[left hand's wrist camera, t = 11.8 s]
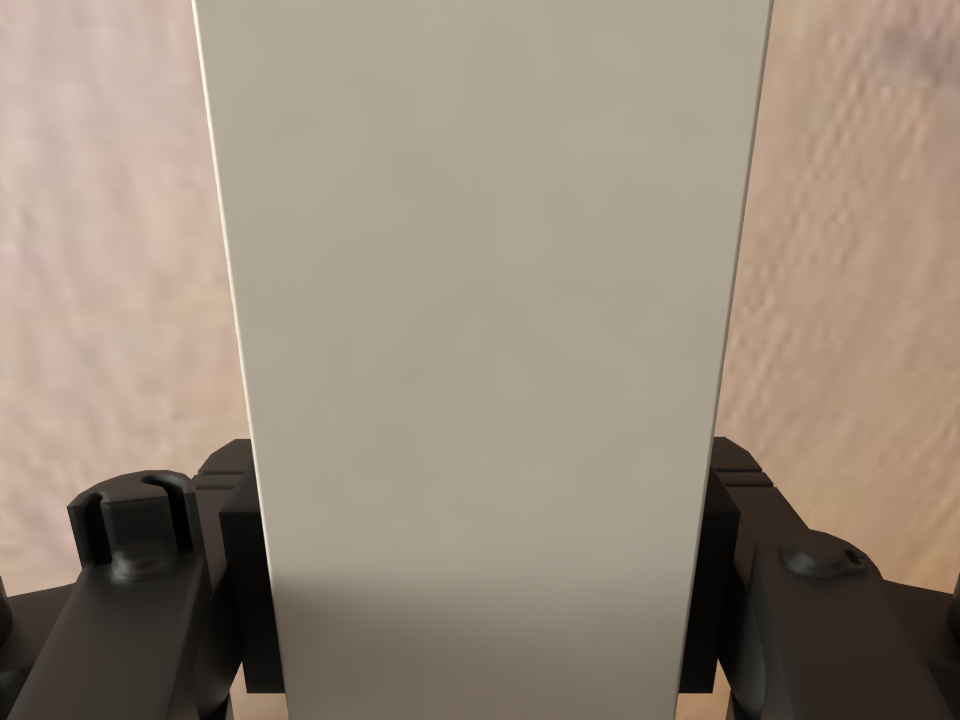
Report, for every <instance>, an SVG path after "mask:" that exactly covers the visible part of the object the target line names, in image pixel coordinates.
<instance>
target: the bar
mask: <svg viewBox="0 0 960 720" xmlns="http://www.w3.org/2000/svg"><path fill="white" fill-rule="evenodd" d="M773 3H774V0H192V7H193V14H194V22H195V29H196V36H197V44H198V51H199V59H200V66H201V73H202V81H203V88H204V96H205V103H206V110H207V118H208V125H209V132H210V140H211V147H212V155H213V162H214V169H215V177H216V184H217V192H218V199H219V206H220V214H221V221H222V229H223V236H224V243H225V251H226V258H227V265H228V273H229V280H230V288H231V295H232V302H233V310H234V317H235V325H236V332H237V339H238V347H239V354H240V361H241V369H242V376H243V384H244V391H245V398H246V406H247V413H248V421H249V428H250V435H251V443H252V450H253V458H254V465H255V472H256V480H257V487H258V494H259V502H260V509H261V517H262V524H263V531H264V539H265V546H266V554H267V561H268V568H269V576H270V583H271V590H272V598H273V605H274V613H275V620H276V627H277V635H278V642H279V650H280V657H281V664H282V672H283V679H284V687H285V694H286V701H287V709H288V716H289V720H675V714H676V707H677V700H678V692H679V685H680V678H681V671H682V663H683V656H684V649H685V642H686V634H687V627H688V620H689V613H690V605H691V598H692V591H693V584H694V576H695V569H696V562H697V555H698V547H699V540H700V533H701V526H702V518H703V511H704V504H705V497H706V489H707V482H708V475H709V468H710V460H711V453H712V446H713V439H714V431H715V424H716V417H717V409H718V402H719V395H720V388H721V380H722V373H723V366H724V359H725V351H726V344H727V337H728V330H729V322H730V315H731V308H732V301H733V293H734V286H735V279H736V272H737V264H738V257H739V250H740V243H741V235H742V228H743V221H744V214H745V206H746V199H747V192H748V185H749V177H750V170H751V163H752V155H753V148H754V141H755V134H756V126H757V119H758V112H759V105H760V97H761V90H762V83H763V76H764V68H765V61H766V54H767V47H768V39H769V32H770V25H771V18H772V10H773Z"/></svg>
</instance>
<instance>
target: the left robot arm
mask: <svg viewBox="0 0 960 720" xmlns="http://www.w3.org/2000/svg"><path fill="white" fill-rule="evenodd" d="M67 510H68V514H69V518H70V522H71V526H72V530H73V534H74V538H75V542H76V546H77V550H78V554H79V558H80V562H81V566H82V571H81V573H80V575H79V577H78V579H77V581H76V583H73V584H69V585H65V586H61V587H56V588H51V589H46V590H41V591H36V592H31V593H26V594H21V595H16V596H11V597H7V595H6V592H5V589H4V585H3V582H2V579H1V576H0V720H234V717H233V710H232V703H231V697H230V691H229V690H230V687H231V685H232V683H233V680H234V678H235V676H236V673H237V671H238V669H239V666H240V664H241V662H242V664H243V670H244V676H245V683H246V689H247V693H285V687H284V679H283V672H282V664H281V657H280V650H279V642H278V635H277V627H276V620H275V613H274V605H273V598H272V590H271V583H270V576H269V568H268V561H267V554H266V546H265V539H264V531H263V524H262V517H261V509H260V502H259V494H258V487H257V480H256V472H255V465H254V458H253V450H252V443H251V439H235V440H233V441H232V442H230V443H228V444H227V445H225V446H223V447H222V448H220V449H219V450H217V451H215V452H214V453H212V454H211V455H210V456H209V458H208V459H207V460H206V462H205V463H204V464H203V465H202V467H201V468H200V469H199V471H198V475H195V476H194V477H193V478H192V480H191V479H190V478H189V477H187V476H186V475H185V474H182V473H178V472H173V471H169V470H145V471H140V472H135V473H129V474H124V475H120V476H117V477H114V478H112V479H109V480H106V481H103V482H100V483H98V484H96V485H94V486H93V487H91V488H89V489H87V490H86V491H84V492H82V493H80V494H79V495H78V496H77V497H76V498H75V499H74V500H73V501H72V502H71V503H70V504H69V505H68V506H67ZM718 659H719V662H720V664H721V666H722V669H723V671H724V673H725V676H726V678H727V680H728V682H729V685H730V687H731V691H730V697H729V703H728V709H727V714H726V720H960V573H959V577H958V580H957V583H956V587H955V590H954V593H953V594H949V593H944V592H939V591H934V590H929V589H924V588H919V587H914V586H909V585H904V584H899V583H895V582H891V581H887V580H884V579H883V578H882V576H881V574H880V572H879V570H878V568H877V567H876V566H875V564H874V563H873V562H872V561H871V559H870V558H869V557H868V556H867V555H866V554H865V553H864V552H862V551H861V550H859V549H858V548H856V547H855V546H853V545H852V544H850V543H849V542H847V541H844V540H842V539H840V538H837V537H835V536H832V535H830V534H828V533H825V532H820V531H815V530H811V529H809V528H808V527H807V526H806V524H805V523H804V522H803V521H802V519H801V518H800V517H799V515H798V514H797V513H796V512H795V510H794V509H793V508H792V506H791V505H790V504H789V503H788V501H787V500H786V499H785V498H784V496H783V495H782V494H781V492H780V491H779V490H778V489H777V487H774V486H773V482H772V481H771V480H770V478H769V477H768V476H767V475H766V473H765V472H762V468H761V467H760V466H759V464H758V463H757V462H756V461H755V459H754V458H753V457H752V456H751V454H750V453H749V452H748V451H747V450H745V449H743V448H742V447H740V446H738V445H737V444H735V443H734V442H732V441H730V440H729V439H727V438H725V437H714V439H713V446H712V453H711V460H710V468H709V475H708V482H707V489H706V497H705V504H704V511H703V518H702V526H701V533H700V540H699V547H698V555H697V562H696V569H695V576H694V584H693V591H692V598H691V605H690V613H689V620H688V627H687V634H686V642H685V649H684V656H683V663H682V671H681V678H680V685H679V692H678V693H712V692H713V686H714V680H715V673H716V667H717V661H718Z"/></svg>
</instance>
